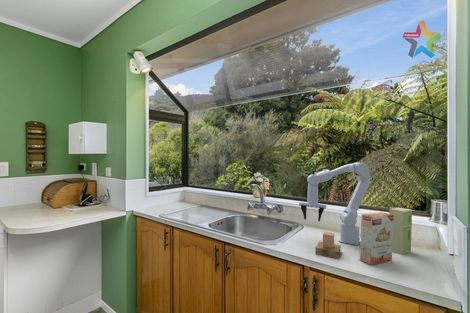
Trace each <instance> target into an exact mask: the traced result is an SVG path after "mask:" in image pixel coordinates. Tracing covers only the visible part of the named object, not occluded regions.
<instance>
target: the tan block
mask: <svg viewBox="0 0 470 313" xmlns="http://www.w3.org/2000/svg"><path fill="white" fill-rule="evenodd" d="M322 242H323V247H326V248H332V249H333V247H334V244H335V233H334V232H329V231H324V232H323V234H322Z"/></svg>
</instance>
